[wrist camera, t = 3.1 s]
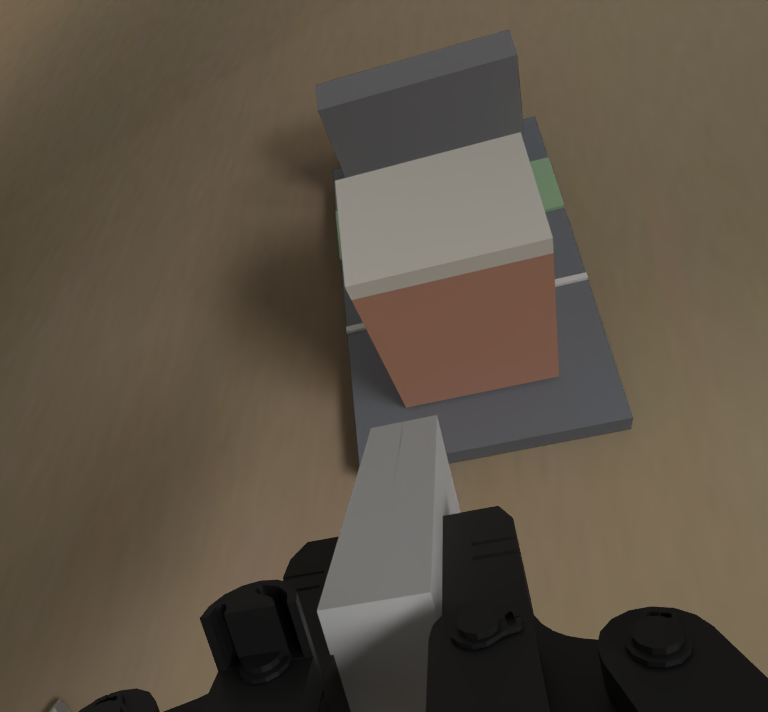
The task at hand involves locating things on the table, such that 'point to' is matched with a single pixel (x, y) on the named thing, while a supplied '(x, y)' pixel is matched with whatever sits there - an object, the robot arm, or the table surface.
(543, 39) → the table surface
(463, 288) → the orange box with lid
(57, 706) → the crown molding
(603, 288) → the table surface
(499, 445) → the base
